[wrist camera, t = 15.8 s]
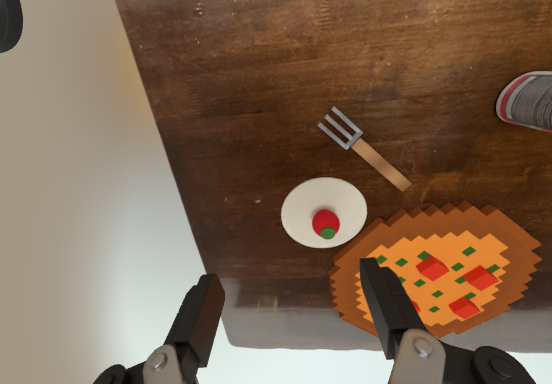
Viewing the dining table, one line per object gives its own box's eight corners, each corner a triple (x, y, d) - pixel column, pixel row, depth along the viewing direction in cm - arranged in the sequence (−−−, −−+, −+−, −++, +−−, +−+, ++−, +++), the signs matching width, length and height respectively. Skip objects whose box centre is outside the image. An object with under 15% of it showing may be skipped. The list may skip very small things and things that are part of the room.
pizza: (438, 163, 29) (453, 172, 26) (569, 268, 36) (591, 283, 33) (296, 289, 43) (296, 303, 40) (410, 347, 50) (417, 363, 47)
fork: (412, 177, 30) (416, 180, 29) (394, 191, 31) (398, 195, 30) (333, 105, 27) (335, 107, 26) (317, 124, 28) (318, 126, 27)
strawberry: (324, 230, 35) (328, 249, 31) (305, 217, 34) (307, 235, 30) (342, 214, 33) (349, 232, 30) (323, 200, 32) (327, 217, 29)
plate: (324, 258, 38) (324, 259, 38) (265, 218, 35) (264, 220, 35) (384, 210, 33) (385, 211, 33) (320, 159, 30) (321, 160, 30)
